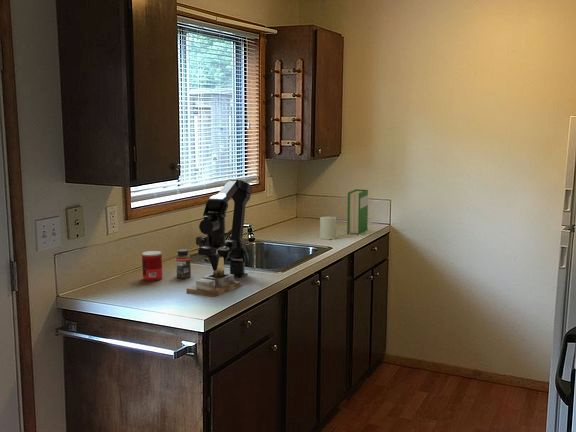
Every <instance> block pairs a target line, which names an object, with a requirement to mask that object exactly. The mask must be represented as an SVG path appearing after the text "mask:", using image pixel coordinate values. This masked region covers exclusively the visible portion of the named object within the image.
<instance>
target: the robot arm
mask: <svg viewBox="0 0 576 432" xmlns="http://www.w3.org/2000/svg"><path fill="white" fill-rule="evenodd" d="M252 193H253V187H252V185H251V184H250V183H249V182H247V181H243V180H241V179H239V178H234V177H233V178H228V179H227V181H226V183H225V184H224V185H223V187H222V188H221V190H220V191H219V192H218V193H217V194H214V195H212V196H210V197H209V198H207V201H206V203H205V206H204V210H203V214H202V216H203V219H202V220H201V221H200V222H199V225H198V227H199V231H200V232H201V233H202V234H204V235H206V236H205V237H203V236H202V235H201V236H197V237H196V238H195V244H196V245H197V246H198V247H199V248H198V249H197V255H199V256H205V257H207V258H208V259H209V262H210V264H211V267H212V271H213V270H214V271H216V270H217V266H218V261H219V257H220V256H224V266H225V265H226V262H229V274H233V275H234V278H242V277H245V276H248V273H249V272H247V273H246V272H245V269H246V267H245V266H246V265H245V263H248V262H249V259H250V255H249V252H248V251H247V249H246V243H245V241H244V238H243V236H244V225H245V215H246V205H247V203H248V202H249V201H250V199H251V195H252ZM231 199H232V200H233V202H234V204H233V214H232V223H231V235H230V238H229V239H226V236H228V232H227V231H226V217H227V215H226V213H227V211H228V209H229V201H230V200H231Z"/></svg>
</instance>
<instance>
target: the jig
mask: <svg viewBox="0 0 576 432" xmlns="http://www.w3.org/2000/svg"><path fill="white" fill-rule="evenodd" d="M241 285H242V281H238V280H235V277H234V275H233V274H230V273H225V272H224V277H223V278H214V277H213V272H211V273H210V274H207V275H204V276H202V277H201V279H197V280H196V281H195V284H194V285H192V286H189V287H187V288H186V291H185V292H186V293H190V294H197V295H202V296H209V297H214V298H215V297H216V296H220V295H222V294H224V293H226V292H229V291H231V290H233V289H236V288H238V287H240V286H241Z"/></svg>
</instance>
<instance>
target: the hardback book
mask: <svg viewBox="0 0 576 432" xmlns="http://www.w3.org/2000/svg"><path fill="white" fill-rule="evenodd" d="M368 202H369V190H368V189H358V188H357V189H353V190H350V191H349V192H347V218H346V220H347V222H346V223H347V224H346V225H347V227H346V228H347V230H346V231H347V233H346V235H350V234H355V235H356V234H361V233H362V234H363V232H364V233H365V232H367V231H368V216H369V215H368V212H369V209H368V208H369V206H368V205H369V203H368ZM366 230H367V231H366ZM349 233H350V234H349ZM362 234H361V235H362Z"/></svg>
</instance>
